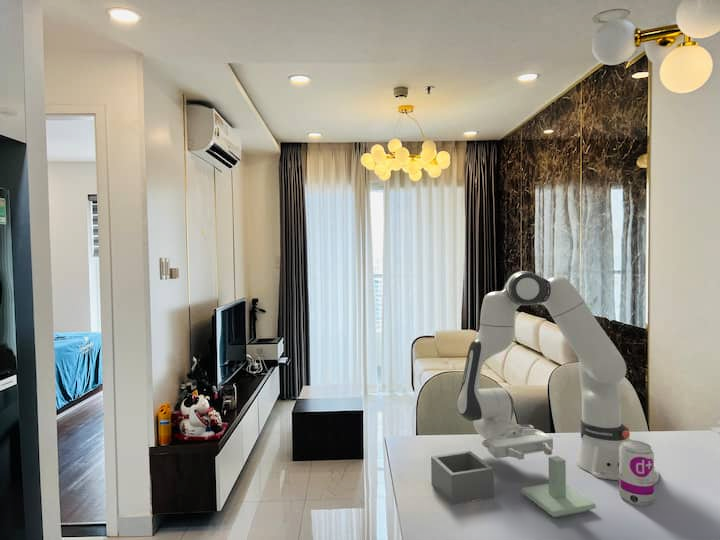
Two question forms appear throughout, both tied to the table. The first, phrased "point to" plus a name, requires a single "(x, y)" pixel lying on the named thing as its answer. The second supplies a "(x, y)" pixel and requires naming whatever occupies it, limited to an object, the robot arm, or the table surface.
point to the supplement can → (636, 472)
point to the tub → (462, 477)
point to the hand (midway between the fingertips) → (536, 454)
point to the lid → (558, 492)
